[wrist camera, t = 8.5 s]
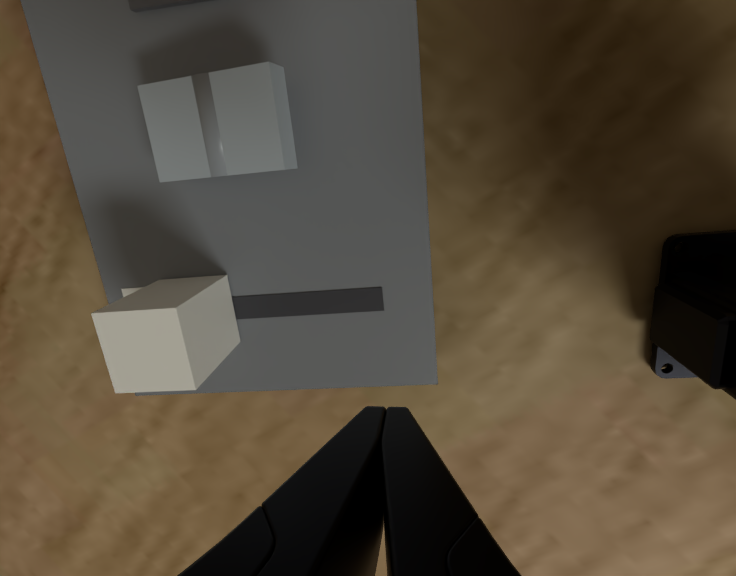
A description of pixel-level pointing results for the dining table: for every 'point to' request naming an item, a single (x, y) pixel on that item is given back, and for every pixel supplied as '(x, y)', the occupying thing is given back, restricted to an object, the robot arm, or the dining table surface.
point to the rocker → (220, 123)
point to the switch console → (261, 179)
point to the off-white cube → (168, 334)
